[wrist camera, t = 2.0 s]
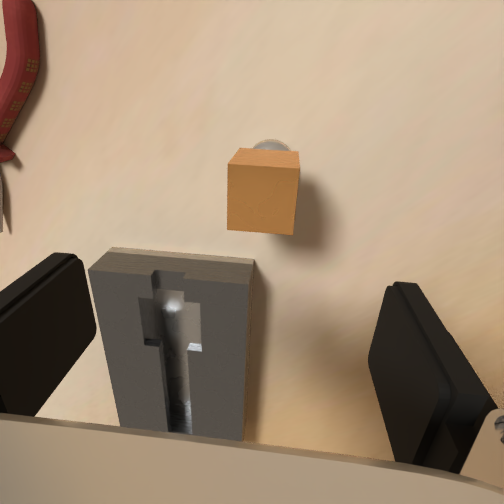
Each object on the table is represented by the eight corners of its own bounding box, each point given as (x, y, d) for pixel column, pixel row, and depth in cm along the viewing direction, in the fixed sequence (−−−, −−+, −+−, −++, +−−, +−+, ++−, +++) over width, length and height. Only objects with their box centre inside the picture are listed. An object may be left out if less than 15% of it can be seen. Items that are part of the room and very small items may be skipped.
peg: (297, 141, 27) (299, 168, 19) (292, 189, 29) (292, 235, 20) (247, 137, 27) (227, 164, 19) (245, 186, 29) (227, 229, 21)
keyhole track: (253, 259, 32) (248, 284, 28) (245, 424, 43) (240, 459, 39) (112, 247, 33) (87, 269, 29) (139, 411, 44) (124, 444, 40)
